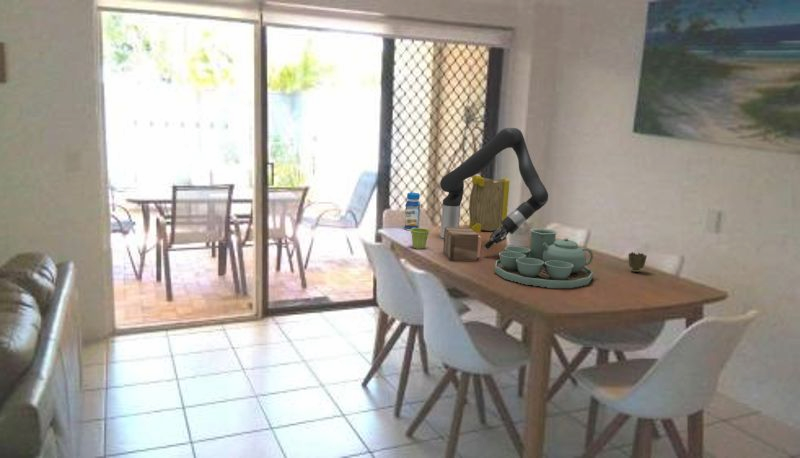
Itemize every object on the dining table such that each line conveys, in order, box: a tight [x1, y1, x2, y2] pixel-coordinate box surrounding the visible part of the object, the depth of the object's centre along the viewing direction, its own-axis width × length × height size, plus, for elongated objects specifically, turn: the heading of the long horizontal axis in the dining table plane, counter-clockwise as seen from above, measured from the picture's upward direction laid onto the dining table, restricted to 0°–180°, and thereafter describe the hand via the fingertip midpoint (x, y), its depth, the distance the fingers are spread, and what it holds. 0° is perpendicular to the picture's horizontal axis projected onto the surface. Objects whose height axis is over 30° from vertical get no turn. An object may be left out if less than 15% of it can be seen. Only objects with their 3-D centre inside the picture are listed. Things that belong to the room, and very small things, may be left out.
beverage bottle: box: [403, 192, 421, 231], centre depth 338 cm, size 8×8×20 cm
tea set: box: [494, 227, 594, 289], centre depth 255 cm, size 40×40×16 cm
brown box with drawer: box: [442, 226, 480, 262], centre depth 281 cm, size 16×12×12 cm
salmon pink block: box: [477, 235, 482, 258], centre depth 281 cm, size 12×10×9 cm
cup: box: [628, 251, 648, 273], centre depth 268 cm, size 8×7×8 cm
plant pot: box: [409, 227, 431, 250], centre depth 296 cm, size 9×9×9 cm
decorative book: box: [468, 175, 510, 233], centre depth 344 cm, size 20×11×30 cm, turn 93°
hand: (485, 247), depth 283 cm, fingers closed
